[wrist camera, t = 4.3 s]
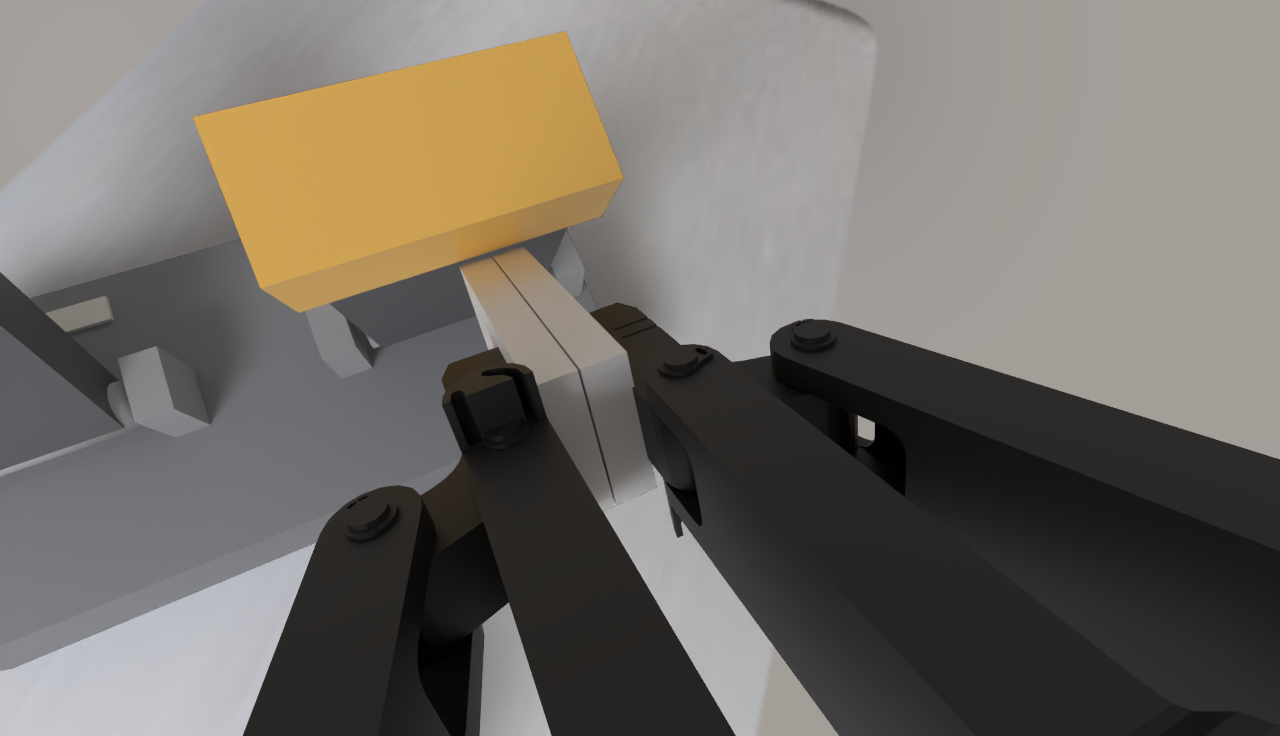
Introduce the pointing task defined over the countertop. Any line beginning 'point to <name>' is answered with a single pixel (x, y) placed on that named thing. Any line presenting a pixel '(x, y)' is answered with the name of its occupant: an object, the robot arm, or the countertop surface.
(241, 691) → the countertop surface
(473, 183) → the amber lever
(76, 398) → the cream lever
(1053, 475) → the robot arm
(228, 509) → the switch block
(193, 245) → the countertop surface
